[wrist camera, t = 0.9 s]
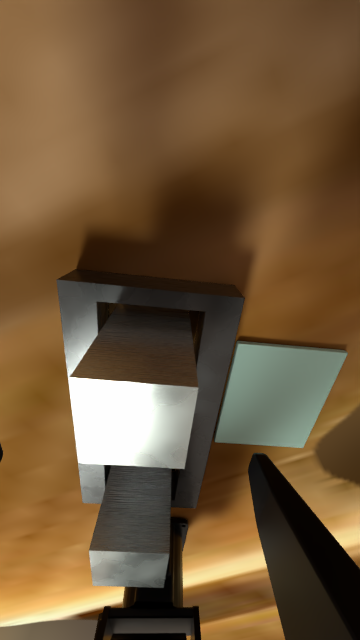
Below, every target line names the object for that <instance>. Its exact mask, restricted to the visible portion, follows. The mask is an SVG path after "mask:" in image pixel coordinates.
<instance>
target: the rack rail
mask: <svg viewBox="0 0 360 640" xmlns="http://www.w3.org/2000/svg"><path fill="white" fill-rule="evenodd" d="M57 287H58V296H59V304H60V313H61V321H62V330H63V338H64V347H65V355H66V364H67V372H68V381H69V389H70V398H71V407H72V415H73V406H72V397H71V388H70V379H69V377H70V376H71V374H72V373H73V371H74V370H75V368H76V367H77V365H78V364H79V362H80V361H81V359H82V358H83V356H84V355H85V353H86V352H87V350H88V349H89V347H90V346H91V344H92V343H93V341H94V340H95V338H96V337H97V335H98V333H99V332H100V330H101V329H102V327H103V326H104V324H105V323H106V321H107V320H108V318H109V303H119V304H130V305H141V306H151V307H162V308H173V309H183V310H194V311H199V316H198V323H197V330H196V336H195V343H194V354H195V362H196V371H197V379H198V387H199V388H198V394H197V399H196V405H195V411H194V417H193V422H192V428H191V434H190V439H189V445H188V451H187V457H186V462H185V468H184V469H175V472H171V507H179V508H196V506H197V502H198V497H199V493H200V489H201V484H202V480H203V476H204V472H205V467H206V463H207V459H208V454H209V450H210V446H211V441H212V437H213V433H214V429H215V424H216V420H217V416H218V411H219V407H220V403H221V398H222V394H223V390H224V385H225V381H226V377H227V373H228V368H229V364H230V360H231V355H232V351H233V347H234V342H235V338H236V334H237V329H238V325H239V321H240V317H241V312H242V308H243V304H244V299H245V298H244V296H243V295H242V294H241V293H240V291H239V290H238V289H237V288H236V286H235V285H227V284H217V283H207V282H198V281H188V280H178V279H168V278H158V277H148V276H138V275H128V274H118V273H108V272H98V271H88V270H78V269H75V270H73V271H72V272H70V273H68V274H66V275H64V276H62V277H61V278H59V279H57ZM73 424H74V432H75V423H74V415H73ZM75 441H76V432H75ZM76 449H77V441H76ZM77 458H78V450H77ZM78 466H79V475H80V483H81V492H82V500H83V503H98V504H101V503H102V499H103V495H104V492H105V488H106V484H107V480H108V476H109V473H110V469H111V465H107V464H90V463H79V459H78Z"/></svg>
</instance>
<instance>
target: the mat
mask: <svg viewBox="0 0 360 640" xmlns="http://www.w3.org/2000/svg"><path fill="white" fill-rule="evenodd" d="M347 354H348V353H347V352H346V351H345V350H337V349H325V348H314V347H302V346H291V345H280V344H268V343H257V342H246V341H237V343H236V347H235V351H234V356H233V360H232V364H231V368H230V373H229V377H228V381H227V385H226V389H225V394H224V398H223V402H222V406H221V411H220V415H219V419H218V423H217V427H216V432H215V436H214V441H215V442H220V443H236V444H251V445H267V446H282V447H298V448H303V447H304V445H305V442H306V440H307V438H308V436H309V434H310V432H311V430H312V428H313V426H314V424H315V421H316V419H317V417H318V415H319V413H320V411H321V409H322V407H323V405H324V402H325V400H326V398H327V396H328V394H329V392H330V390H331V388H332V386H333V384H334V381H335V379H336V377H337V375H338V373H339V371H340V369H341V367H342V365H343V363H344V360H345V358H346V356H347Z"/></svg>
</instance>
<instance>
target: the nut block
mask: <svg viewBox="0 0 360 640" xmlns="http://www.w3.org/2000/svg"><path fill="white" fill-rule="evenodd" d="M69 379H70V388H71V397H72V406H73V415H74V423H75V432H76V441H77V450H78V459H79V463H90V464H107V465H124V466H142V467H159V468H176V469H184V468H185V462H186V457H187V451H188V445H189V439H190V434H191V428H192V422H193V417H194V411H195V405H196V399H197V394H198V388H199V387H198V379H197V371H196V362H195V354H194V346H193V338H192V330H191V321H190V313H189V310H183V309H173V308H162V307H151V306H141V305H130V304H119V303H118V305H117V306H116V308H115V309H114V311H113V312H112V314H111V315H110V317H109V318H108V320H107V321H106V323H105V324H104V326H103V327H102V329H101V330H100V332H99V333H98V335H97V337H96V338H95V340H94V341H93V343H92V344H91V346H90V347H89V349H88V350H87V352H86V353H85V355H84V356H83V358H82V359H81V361H80V362H79V364H78V365H77V367H76V368H75V370H74V371H73V373H72V374H71V376H70V377H69Z"/></svg>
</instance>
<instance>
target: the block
mask: <svg viewBox="0 0 360 640" xmlns="http://www.w3.org/2000/svg"><path fill="white" fill-rule="evenodd" d="M170 509H171V468H159V467H142V466H124V465H111V469H110V473H109V476H108V480H107V484H106V488H105V492H104V495H103V499H102V503H101V507H100V511H99V514H98V518H97V522H96V526H95V530H94V533H93V537H92V541H91V545H90V549H89V555H90V564H91V572H92V581H93V586H123V587H154V588H164V582H165V576H166V570H167V565H168V559H169V551H170Z"/></svg>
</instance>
